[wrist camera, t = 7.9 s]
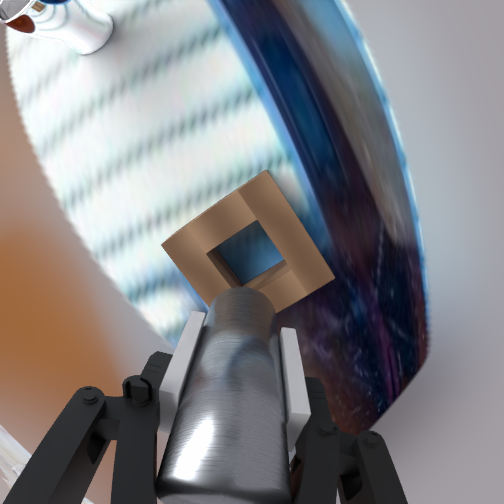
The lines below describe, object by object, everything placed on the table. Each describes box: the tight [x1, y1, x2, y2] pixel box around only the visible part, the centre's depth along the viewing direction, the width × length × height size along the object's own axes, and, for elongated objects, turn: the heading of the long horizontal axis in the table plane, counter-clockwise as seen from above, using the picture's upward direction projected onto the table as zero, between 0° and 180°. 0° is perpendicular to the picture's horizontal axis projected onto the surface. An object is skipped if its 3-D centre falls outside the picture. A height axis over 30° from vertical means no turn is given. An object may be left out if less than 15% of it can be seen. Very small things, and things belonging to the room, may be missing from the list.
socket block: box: [161, 170, 335, 313], centre depth 31 cm, size 12×12×4 cm
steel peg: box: [155, 287, 292, 504], centre depth 13 cm, size 4×4×13 cm
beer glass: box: [0, 0, 113, 55], centre depth 18 cm, size 7×7×15 cm
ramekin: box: [12, 463, 26, 477], centre depth 57 cm, size 11×11×5 cm
